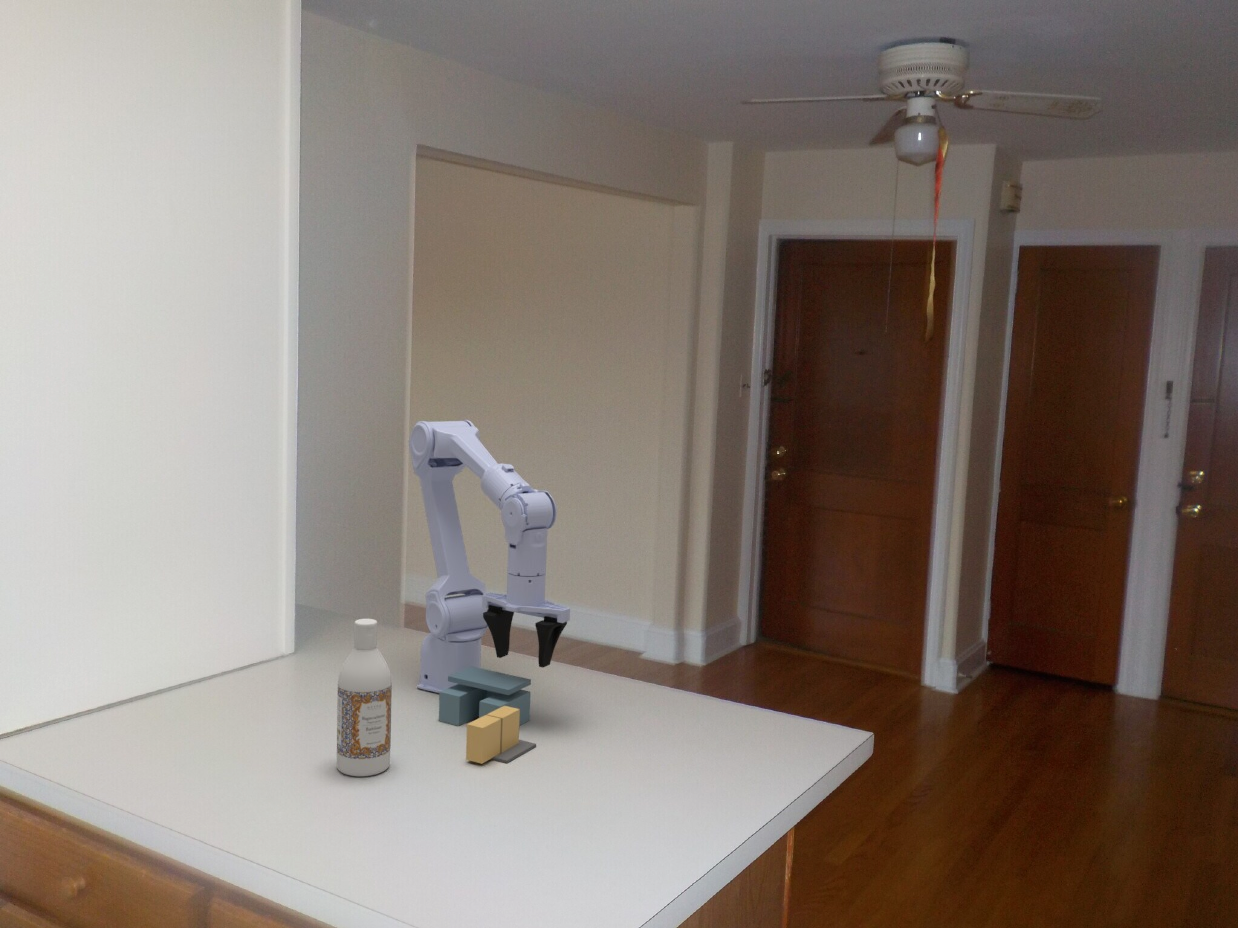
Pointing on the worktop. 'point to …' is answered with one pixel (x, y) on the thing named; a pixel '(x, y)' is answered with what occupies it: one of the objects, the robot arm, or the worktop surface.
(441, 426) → the robot arm
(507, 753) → the pad
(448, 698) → the teal block stack
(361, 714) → the bath foam
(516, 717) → the tan grooved block
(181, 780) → the worktop surface
